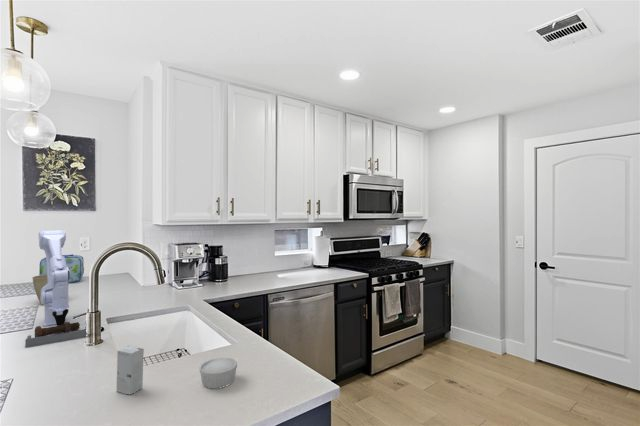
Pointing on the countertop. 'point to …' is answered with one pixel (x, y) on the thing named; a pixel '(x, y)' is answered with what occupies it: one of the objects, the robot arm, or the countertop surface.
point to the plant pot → (39, 284)
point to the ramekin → (218, 372)
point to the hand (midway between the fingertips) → (60, 327)
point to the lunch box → (73, 264)
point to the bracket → (54, 338)
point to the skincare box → (129, 369)
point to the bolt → (56, 329)
